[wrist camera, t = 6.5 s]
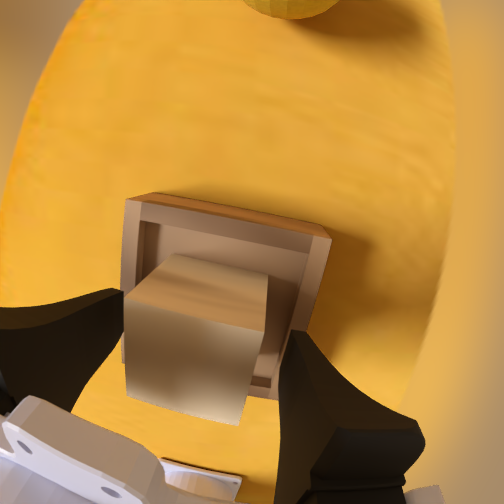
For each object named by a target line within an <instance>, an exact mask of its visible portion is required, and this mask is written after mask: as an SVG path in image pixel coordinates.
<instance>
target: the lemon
mask: <svg viewBox="0 0 504 504" xmlns="http://www.w3.org/2000/svg"><path fill="white" fill-rule="evenodd" d="M243 1H244V2H245V3H246V4H247V5H248V6H250V7H251V8H253V9H255V10H257V11H258V12H260V13H263V14H265V15H268V16H271V17H275V18H281V19H303V18H309V17H313V16H315V15H318V14H320V13H323V12H325V11H327V10H328V9H329V8H331V7H332V6H333V5H335V4H336V3H337V2H338V1H339V0H243Z"/></svg>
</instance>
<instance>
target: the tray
mask: <svg viewBox="0 0 504 504" xmlns="http://www.w3.org/2000/svg"><path fill="white" fill-rule="evenodd" d="M331 243H332V239H331V237H330V236H329V235H328V233H327V232H326V231H325V230H324V228H323V227H322V226H321V225H319V224H314V223H310V222H305V221H301V220H296V219H291V218H287V217H282V216H277V215H272V214H267V213H263V212H258V211H253V210H248V209H242V208H237V207H232V206H227V205H222V204H216V203H211V202H206V201H200V200H194V199H189V198H183V197H177V196H172V195H166V194H160V193H154V192H152V193H148V194H144V195H140V196H136V197H133V198H129V199H126V202H125V212H124V224H123V237H122V254H121V281H120V290H121V291H124V297H125V296H126V295H127V294H128V293H129V292H131V291H132V290H133V289H134V288H135V287H136V286H137V285H138V284H139V283H140V282H141V281H142V280H143V279H145V278H146V277H147V276H148V275H149V274H150V273H151V272H152V271H153V270H154V269H156V268H157V267H158V266H159V265H160V264H161V263H162V262H163V261H164V260H166V259H167V258H168V257H169V256H170V255H171V254H172V253H173V254H177V255H181V256H186V257H190V258H195V259H199V260H204V261H208V262H213V263H217V264H222V265H226V266H231V267H235V268H240V269H244V270H249V271H254V272H258V273H263V274H268V286H267V301H266V316H265V331H264V336H263V339H262V343H261V347H260V350H259V354H258V358H257V362H256V365H255V369H254V372H253V376H252V380H251V383H250V387H249V390H248V394H247V395H248V396H254V397H260V398H266V399H272V400H278V401H279V398H278V380H279V368H280V365H281V361H282V358H283V355H284V352H285V348H286V345H287V342H288V338H289V335H290V332H291V329H293V330H299V331H305V332H306V330H307V327H308V324H309V320H310V317H311V314H312V311H313V307H314V304H315V301H316V297H317V294H318V290H319V287H320V283H321V280H322V276H323V273H324V269H325V266H326V262H327V258H328V254H329V251H330V247H331ZM121 351H122V363H124V364H125V355H124V332H123V334H122V336H121Z"/></svg>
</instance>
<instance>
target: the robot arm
mask: <svg viewBox="0 0 504 504" xmlns="http://www.w3.org/2000/svg"><path fill="white" fill-rule="evenodd" d="M123 332H124V291H121V290H118V289H114V288H108V289H104V290H100V291H96V292H93V293H90V294H86V295H83V296H79V297H76V298H72V299H68V300H65V301H61V302H57V303H52V304H47V305H40V306H32V307H16V308H7V307H0V504H249V503H241V502H235V501H234V499H235V497H236V495H237V492H238V490H239V487H240V485H241V482H242V478H241V477H240V476H235V475H230V474H224V473H219V472H214V471H209V470H204V469H200V468H196V467H191V466H187V465H183V464H180V463H176V462H172V461H169V460H165V459H161V458H159V459H158V458H157V457H156V456H155V455H154V454H153V453H151V452H150V451H149V450H148V449H146V448H145V447H144V446H143V445H141V444H139V443H137V442H135V441H133V440H131V439H129V438H127V437H125V436H123V435H121V434H118V433H115V432H113V431H110V430H108V429H105V428H103V427H100V426H98V425H96V424H93V423H91V422H89V421H86V420H84V419H82V418H80V417H78V416H76V415H73V414H71V411H72V409H73V407H74V405H75V403H76V401H77V399H78V397H79V396H80V394H81V392H82V390H83V389H84V387H85V385H86V384H87V382H88V381H89V380H90V378H91V377H92V376H93V374H94V373H95V372H96V371H97V369H98V368H99V367H100V366H101V364H102V363H103V362H104V361H105V359H106V358H107V357H108V355H109V354H110V353H111V352H112V350H113V349H114V348H115V346H116V344H117V343H118V341H119V339H120V337H121V336H122V334H123ZM278 398H279V414H280V451H279V463H278V473H277V482H276V490H275V497H274V504H445V501H444V499H443V495H442V493H441V490H440V487H439V485H433V486H429V487H423V488H418V489H413V490H410V491H408V492H406V493H403V489H402V486H404V485H405V483H406V480H405V477H404V473H405V472H406V471H407V470H408V469H409V468H410V467H411V466H412V465H413V464H414V463H415V461H416V460H417V459H418V458H419V456H420V455H421V453H422V452H423V450H424V447H425V438H424V436H423V434H422V432H421V429H420V427H419V425H418V423H417V421H416V420H414V419H411V418H409V417H407V416H404V415H402V414H399V413H397V412H395V411H393V410H391V409H389V408H387V407H385V406H383V405H381V404H380V403H378V402H376V401H375V400H373V399H371V398H370V397H369V396H367V395H366V394H364V393H363V392H361V391H360V390H359V389H357V388H356V387H355V386H354V385H352V384H351V383H350V382H349V381H348V380H347V379H346V378H344V377H343V376H342V375H341V374H340V373H339V372H338V371H337V370H336V369H335V367H334V366H333V365H332V364H331V363H330V362H329V361H328V360H327V358H326V357H325V356H324V355H323V354H322V352H321V351H320V350H319V348H318V347H317V346H316V344H315V343H314V342H313V340H312V339H311V338H310V336H309V335H308V334H307V333H306V332H305V331H299V330H293V329H291V332H290V335H289V338H288V342H287V345H286V348H285V352H284V355H283V358H282V361H281V365H280V368H279V380H278Z"/></svg>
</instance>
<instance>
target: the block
mask: <svg viewBox="0 0 504 504" xmlns="http://www.w3.org/2000/svg"><path fill="white" fill-rule="evenodd" d="M267 286H268V274H263V273H258V272H254V271H249V270H244V269H240V268H235V267H231V266H226V265H222V264H217V263H213V262H208V261H204V260H199V259H195V258H190V257H186V256H181V255H177V254H173V253H172V254H171V255H170V256H169V257H168V258H167V259H166V260H164V261H163V262H162V263H161V264H160V265H159V266H158V267H157V268H156V269H154V270H153V271H152V272H151V273H150V274H149V275H148V276H147V277H146V278H145V279H143V280H142V281H141V282H140V283H139V284H138V285H137V286H136V287H135V288H134V289H133V290H132V291H131V292H129V293H128V294H127V295H126V296H125V297H124V355H125V376H126V391H127V396H129V397H132V398H135V399H138V400H141V401H144V402H147V403H150V404H153V405H156V406H159V407H163V408H166V409H169V410H173V411H176V412H180V413H184V414H187V415H191V416H195V417H199V418H203V419H208V420H212V421H216V422H221V423H226V424H231V425H236V426H238V425H239V422H240V418H241V415H242V411H243V408H244V404H245V401H246V397H247V394H248V390H249V387H250V383H251V380H252V376H253V372H254V369H255V365H256V362H257V358H258V354H259V350H260V347H261V343H262V339H263V336H264V331H265V316H266V301H267Z"/></svg>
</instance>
